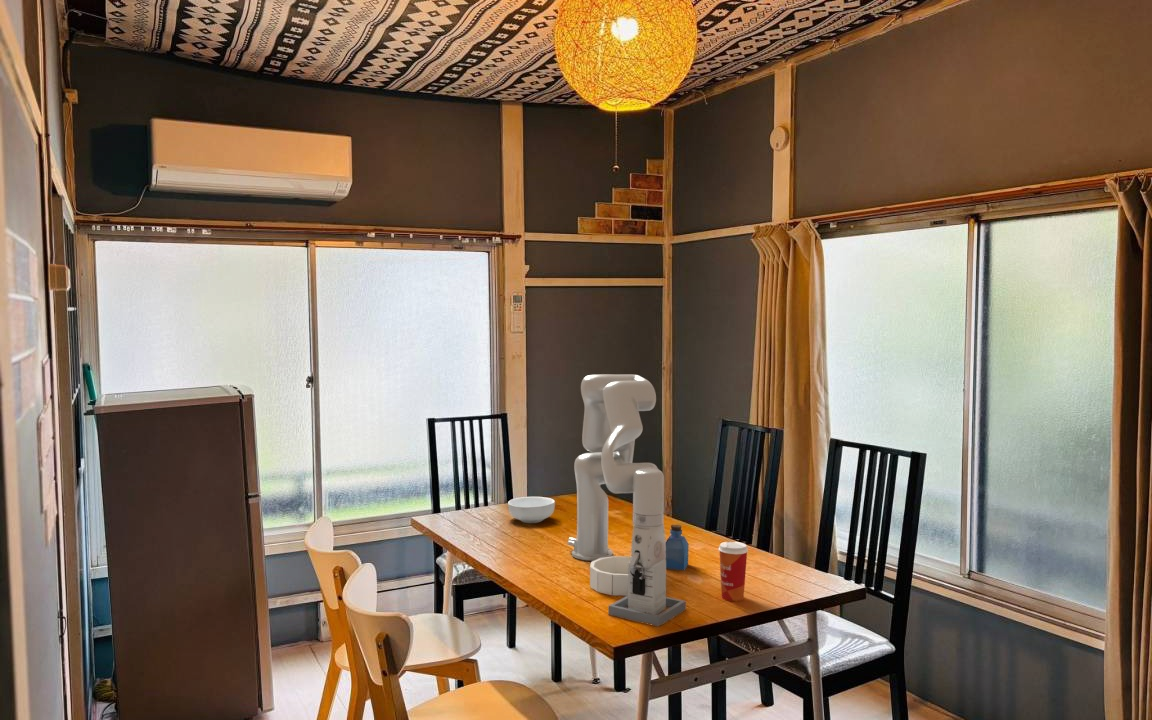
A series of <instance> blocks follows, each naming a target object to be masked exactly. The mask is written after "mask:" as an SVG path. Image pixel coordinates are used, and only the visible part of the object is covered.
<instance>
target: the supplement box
mask: <svg viewBox="0 0 1152 720" xmlns="http://www.w3.org/2000/svg"><path fill="white" fill-rule="evenodd" d="M630 562H631V561H630ZM630 562H629V563H630ZM629 563H628V566H629ZM637 565H641V566H642V564H640V563H637ZM637 570H638V571H639V572H640V573H641V569H640V568H637ZM643 579H645V595H639V594H634V593H633V592H632V589H633V578H632V575H631V573H630V569H629V567H628V607H627V609H632V610H636V611H640V612H644V613H649V614H653V615H659V614H660V613H662V612H664V611H665V610H666V608H667V607H666V597H667V569H666V560H665V559H664V560H662V561H660V562H658V563H657V564H655V565H653V566H651V567H650V569H646V568H645V574H644V578H643Z"/></svg>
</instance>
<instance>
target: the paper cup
mask: <svg viewBox="0 0 1152 720" xmlns="http://www.w3.org/2000/svg"><path fill="white" fill-rule="evenodd" d="M718 551H719V566H720V567H719V568H720V591H721V592H720V593H721V598H722V599H723V600H724V599H725V601H727V600H728V602H740V600H741V601H743V600H744V598H745V597H744V596H745V595H744V594H745V585H746V584H745V583H746V573H747V557H748V552H749V549H748V546H747V544H746V543H743V542H739V541H724V542H721V543H720V544H719V546H718Z"/></svg>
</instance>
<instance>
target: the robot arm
mask: <svg viewBox="0 0 1152 720" xmlns="http://www.w3.org/2000/svg"><path fill="white" fill-rule="evenodd" d="M580 394H581V398H582V400H583V404H584V405H583V406H584V412H583V413H584V414H583V421H582V435H581V437H582V439H581V442H582V447H583V448H584V449H585V450H586V451H588V452H585V453H582V454H579V455H578V456H577V457H576V458H575V460H574V465H573V467H574V469H573V470H574V475H575V482H576V497H577V498H576V500H577V501H576V503H577V505H576V514H577V515H576V537H569V538H568V540H567V546H571V547H573V550H571V556H572V557H573V558H576V559H577V560H582V561H587V562H588V561H590V562H592V561H594V560H597V559H599V558H604V557H612V556H614V551H613V550H612V549H611V548H609V498H608V494H607V493H606V492H605V490H604V489H602V487H601V485H605V486H606V488H607V490H608V491H609V492H611V493H612V494H617V495H618V494H632V526H633V527H632V537H631V548H630V557H631V562H630V563H629V566H628V567H629V569H630V573H631V575H632V578H633V589H632V592H633V593H634V594H639V595H645V579H643V578H644V574H645V568H646V569H650V567H651V566H653V565H655V564H657V563H658V562H660V561H662V560H664V559H666V541H667V540H666V533H665V532H666V531H665V526H664V524H665V523H664V498H665V497H664V494H665V493H664V492H665V476H664V473H663V471H661V470H660V469H659V468H658V466H657V465H656V464H654V463H653V462H633V461H634V460H633V459H634V451H635V444H636V442H635V441H636V439H638V438H639V437H640V436H641V434H643V433H642V432H643V429H644V428H643V427H644V426H643V423H642V419H641V416H640V412H645V411H646V412H647V411H651V410H653V409H654V408H655V406H656V402H657V395H656V389H655V387H654V386H653V384H652V383H651V382H650V381H649V380H648V379H646V378H644V377H642V376H641V375H639V374H635V373H634V374H631V373H630V374H625V373H624V374H619V373H618V374H609V373H607V374H604V373H602V374H599V373H598V374H589V375H586V376H585V377H583V379H582V380H581V383H580ZM637 563H640V564H642V566H641V565H637ZM637 568H640V569H641V573H640V572H639V571H638V570H637Z"/></svg>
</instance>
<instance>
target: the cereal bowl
mask: <svg viewBox="0 0 1152 720" xmlns="http://www.w3.org/2000/svg"><path fill="white" fill-rule="evenodd" d="M555 506H556V501H555V500H554V499H553V498H550V497H545V496H544V497H543V496H522V497H515V498H512V499H510V500H509V501H507V507H508V512H509V514H510V515H511V517H513V518H514V519H516V520H518V521H520V522H522V523H526V524H537V523H541V522H543V521H544V520H545V519H547V518H549V517H550V516H552V515H553V513H554V511H555Z"/></svg>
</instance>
